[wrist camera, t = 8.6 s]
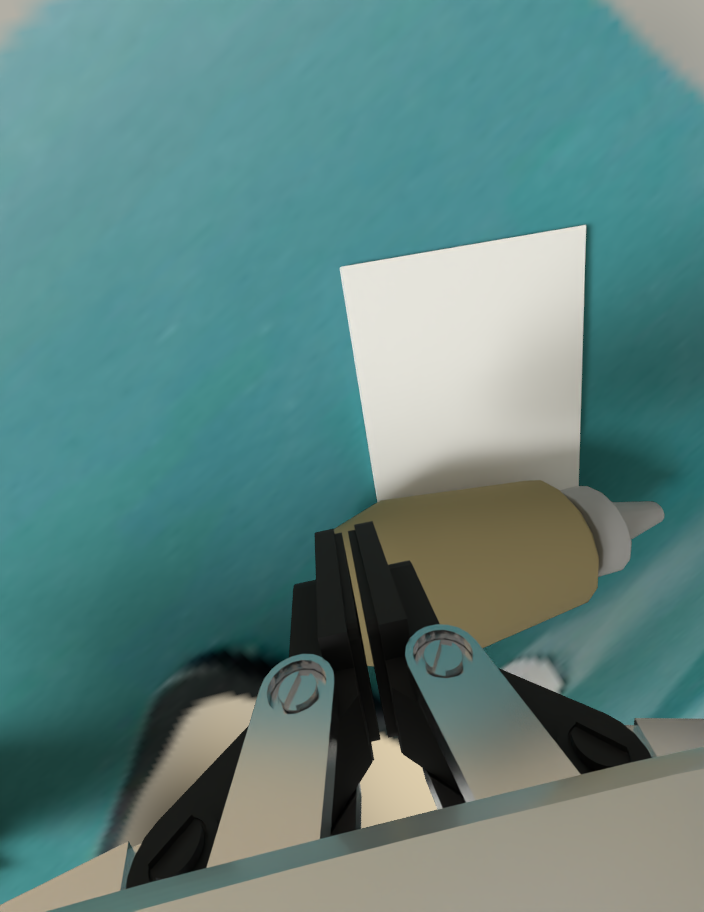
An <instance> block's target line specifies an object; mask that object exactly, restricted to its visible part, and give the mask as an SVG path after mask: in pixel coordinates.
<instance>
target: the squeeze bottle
mask: <svg viewBox="0 0 704 912" xmlns="http://www.w3.org/2000/svg"><path fill="white" fill-rule="evenodd" d="M663 519H664V512H663V509H662V508H661V506H659V505H658V504H657V503H655V502H652V501H645V502H611V501H610V500H609V499H608V498H607V497H606V496H605V495H604V494H603V493H601V492H599V491H597V490H595V489H592V488H590V487H588V486H574V487H570V488H566V489H562V490H558V489H557V488H555V487H553V486H551V485H549V484H547V483H545V482H544V481H542V480H530V481H520V482H513V483H505V484H498V485H491V486H483V487H476V488H469V489H461V490H454V491H446V492H439V493H432V494H424V495H417V496H410V497H402V498H395V499H387V500H380V501H379V502H377V503H376V504H374V505H372V506H371V507H369V508H367V509H366V510H364V511H363V512H361V513H359V514H358V515H356V516H354V517H353V518H351V519H350V520H348V521H346V522H345V523H343V524H341V525H340V526H338V527H337V528H335V529H334V533H335V534H336V533H341V532H342V536H343V541H344V546H345V551H346V556H347V561H348V567H349V572H350V577H351V582H352V587H353V592H354V597H355V602H356V607H357V612H358V617H359V623H360V628H361V634H362V640H363V645H364V651H365V656H366V662H367V666H374V664H373V659H372V654H371V649H370V644H369V639H368V634H367V629H366V624H365V619H364V614H363V608H362V603H361V598H360V593H359V588H358V582H357V577H356V572H355V567H354V562H353V556H352V551H351V546H350V541H349V536H348V531H351V530H355V528H354V525H355V524H360V523H365V522H370V521H373V524H374V527H375V529H376V532H377V535H378V538H379V541H380V544H381V546H382V549H383V552H384V555H385V558H386V561H387V563H388V565H389V564H394V563H398V562H403V561H408V560H410V561H411V563H412V565H413V567H414V569H415V571H416V573H417V576H418V578H419V580H420V582H421V584H422V586H423V589H424V591H425V593H426V595H427V597H428V599H429V602H430V604H431V606H432V608H433V610H434V612H435V615H436V617H437V619H438V621H439V623H440V624H443V625H451V626H455V627H458V628H460V629H462V630H464V631H466V632H468V633H469V634H470V635H471V636H472V637H473V638H474V639H475V640H476V641H477V642H478V644H479V645H480V646H481V647H482V648H484V647H486V646H489V645H491V644H493V643H495V642H498V641H500V640H502V639H505V638H507V637H509V636H511V635H514V634H516V633H518V632H521V631H523V630H525V629H527V628H530V627H532V626H534V625H537V624H539V623H541V622H543V621H546V620H548V619H550V618H553V617H555V616H557V615H559V614H562V613H564V612H566V611H568V610H571V609H573V608H575V607H578V606H580V605H582V604H584V603H587V602H588V601H589V600H590V598H591V597H592V595H593V594H594V592H595V591H596V589H597V585H598V577H599V576H603V575H606V574H609V573H613V572H616V571H620V570H623V568H624V567H625V565H626V564H627V563H628V561H629V560H630V553H631V539H633V538H634V537H636V536H638V535H639V534H641V533H643V532H644V531H646V530H648V529H650V528H651V527H653V526H655V525H656V524H658V523H660V522H661V521H662V520H663Z"/></svg>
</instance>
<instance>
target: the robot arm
mask: <svg viewBox="0 0 704 912" xmlns="http://www.w3.org/2000/svg"><path fill="white" fill-rule="evenodd" d="M354 528H355V530H351V531H348V536H349V541H350V546H351V551H352V556H353V562H354V567H355V572H356V577H357V582H358V588H359V593H360V598H361V603H362V608H363V614H364V619H365V624H366V629H367V634H368V639H369V644H370V649H371V654H372V659H373V664H374V669H375V674H376V679H377V684H378V689H379V694H380V699H381V704H382V709H383V714H384V719H385V724H386V729H387V734H388V738H389V737H394V736H398V739H399V744H400V748H401V752H402V753H403V754H404V755H405V756H407V757H408V758H409V759H411V760H412V761H414V762H415V763H417V764H418V765H420V766H421V767H423V772H424V775H425V779H426V782H427V784H428V787H429V789H430V792H431V794H432V797H433V799H434V802H435V804H436V806H437V809H438V810H434V811H430V812H427V813H422V814H418V815H415V816H410V817H406V818H402V819H398V820H394V821H390V822H386V823H383V824H378V825H374V826H370V827H366V828H362V829H361V788H360V781H361V780H362V778H363V776H364V775H365V773H366V772H367V770H368V768H369V767H370V765H371V763H372V760H374V757H373V751H372V745H371V742H372V741H377V740H380V734H379V729H378V723H377V717H376V712H375V706H374V701H373V695H372V690H371V684H370V678H369V673H368V667H367V662H366V656H365V651H364V645H363V640H362V634H361V628H360V623H359V617H358V612H357V607H356V602H355V597H354V592H353V587H352V582H351V577H350V572H349V567H348V561H347V556H346V551H345V546H344V541H343V536H342V532H341V533H336V534H335V533H334V529H330V530H325V531H321V532H316V533H315V560H316V580H313V581H308V582H303V583H299V584H295V585H294V588H293V602H292V618H291V634H290V650H289V658H288V659H286V660H283V661H281V662H280V663H279V664H278V665H276V666H275V667H274V668H273V669H272V670H271V671H270V672H269V673H268V675H267V676H266V677H265V678H264V681H263V683H262V685H261V687H260V690H259V693H258V696H257V700H256V703H255V707H254V710H253V713H252V717H251V720H250V724H249V726H248V727H247V728H246V729H245V730H244V731H243V732H242V733H241V734H240V735H239V736H238V737H237V739H236V740H235V741H234V742H233V743H232V744H231V745H230V746H229V747H228V748H227V749H226V750H225V751H224V752H223V753H222V754H221V755H220V756H219V757H218V758H217V760H216V761H215V762H214V763H213V764H212V765H211V766H210V767H209V768H208V769H207V770H206V771H205V772H204V773H203V774H202V775H201V776H200V778H198V780H197V781H196V782H195V783H194V784H193V785H192V786H191V787H190V788H189V789H188V790H187V791H186V792H185V793H184V794H183V795H182V796H181V797H180V798H179V800H177V802H176V803H175V804H174V805H173V806H172V807H171V808H170V809H169V810H168V811H167V812H166V813H165V814H164V815H163V816H162V817H161V819H159V821H158V822H157V823H156V824H155V825H154V827H153V828H152V829H151V830H150V832H149V833H148V834H147V835H146V837H145V838H144V840H143V842H142V843H141V844H139V845H137V846H135V847H133V848H132V847H131V845H130V843H129V841H128V842H126V843H124V844H122V845H120V846H118V847H116V848H114V849H112V850H110V851H108V852H106V853H104V854H102V855H100V856H98V857H96V858H94V859H92V860H90V861H88V862H86V863H84V864H82V865H80V866H78V867H76V868H74V869H72V870H70V871H68V872H66V873H64V874H62V875H60V876H58V877H56V878H54V879H52V880H50V881H48V882H46V883H44V884H42V885H40V886H38V887H36V888H34V889H32V890H30V891H27V892H25V893H23V894H21V895H19V896H17V897H15V898H13V899H11V900H9V901H7V902H5V903H3V904H1V905H0V912H704V719H663V718H635V721H634V725H624V724H622V723H621V722H620V721H618V720H616V719H614V718H612V717H611V716H609V715H607V714H605V713H603V712H600V711H598V710H596V709H593V708H591V707H589V706H586V705H584V704H582V703H579V702H577V701H575V700H572V699H570V698H567V697H565V696H563V695H560V694H558V693H556V692H553V691H551V690H549V689H546V688H544V687H541V686H539V685H537V684H534V683H532V682H530V681H527V680H525V679H523V678H520V677H518V676H516V675H513V674H511V673H508V672H506V671H504V670H501V669H499V668H497V667H496V665H495V664H494V663H493V661H492V660H491V659H490V658H489V656H488V655H487V654H486V652H485V651H484V650H483V649H482V647H481V646H480V645H479V644H478V642H477V641H476V640H475V639H474V638H473V637H472V636H471V635H470V634H469V633H468V632H466V631H464V630H462V629H460V628H458V627H455V626H451V625H443V624H440V623H439V621H438V619H437V617H436V615H435V612H434V610H433V608H432V606H431V604H430V602H429V599H428V597H427V595H426V593H425V591H424V589H423V586H422V584H421V582H420V580H419V578H418V576H417V573H416V571H415V569H414V567H413V565H412V563H411V561H410V560H408V561H403V562H398V563H394V564H389V565H388V563H387V561H386V558H385V555H384V552H383V549H382V546H381V544H380V541H379V538H378V535H377V532H376V529H375V527H374V524H373V521H370V522H365V523H360V524H355V525H354Z"/></svg>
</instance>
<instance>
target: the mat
mask: <svg viewBox="0 0 704 912" xmlns="http://www.w3.org/2000/svg"><path fill="white" fill-rule="evenodd" d="M585 246H586V225H582V226H577V227H571V228H565V229H559V230H553V231H547V232H542V233H536V234H530V235H524V236H518V237H512V238H507V239H501V240H495V241H489V242H483V243H477V244H472V245H466V246H460V247H454V248H448V249H442V250H437V251H431V252H425V253H419V254H413V255H407V256H401V257H396V258H390V259H384V260H378V261H372V262H366V263H361V264H355V265H349V266H343V267H340V273H341V280H342V286H343V292H344V298H345V304H346V311H347V317H348V323H349V329H350V335H351V342H352V348H353V354H354V360H355V366H356V373H357V379H358V385H359V391H360V397H361V404H362V410H363V416H364V422H365V428H366V435H367V441H368V447H369V453H370V459H371V466H372V472H373V478H374V484H375V490H376V497H377V502H379V501H380V500H387V499H395V498H402V497H410V496H417V495H424V494H432V493H439V492H446V491H454V490H461V489H469V488H476V487H483V486H491V485H498V484H505V483H513V482H520V481H530V480H542V481H544V482H545V483H547V484H549V485H551V486H553V487H555V488H557V489H558V490H562V489H566V488H570V487H574V486H579V454H580V420H581V385H582V350H583V316H584V281H585Z"/></svg>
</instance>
